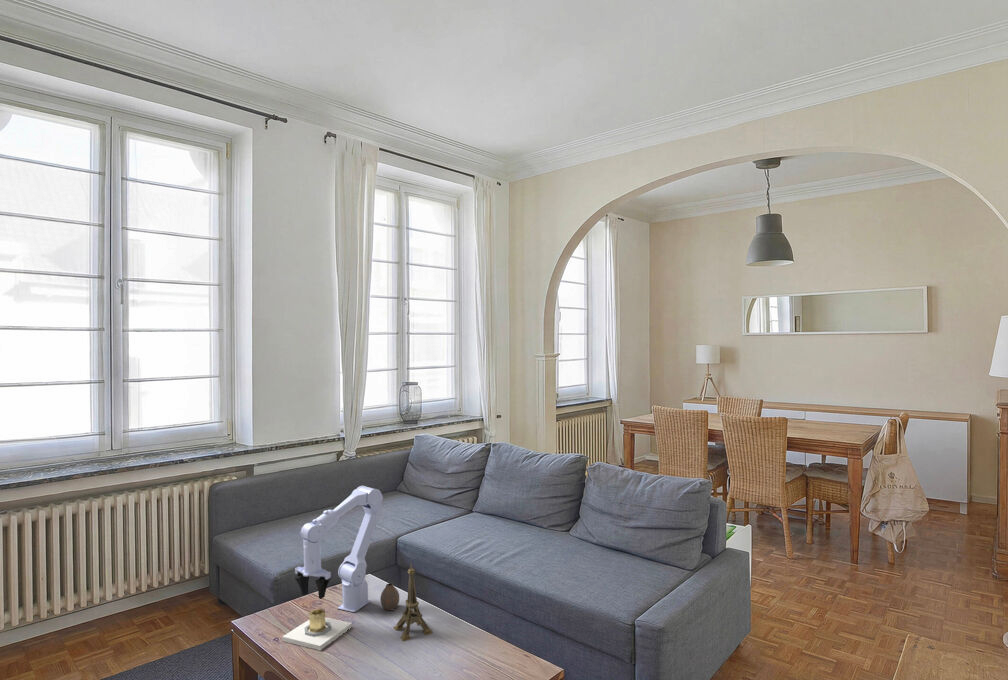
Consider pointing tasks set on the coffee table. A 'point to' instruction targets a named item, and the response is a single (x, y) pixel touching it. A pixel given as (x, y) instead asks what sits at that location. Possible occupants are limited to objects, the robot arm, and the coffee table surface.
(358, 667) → the coffee table surface
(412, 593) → the eiffel tower
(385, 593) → the vase
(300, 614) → the coffee table surface
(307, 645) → the post board
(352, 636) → the coffee table surface
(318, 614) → the collar
